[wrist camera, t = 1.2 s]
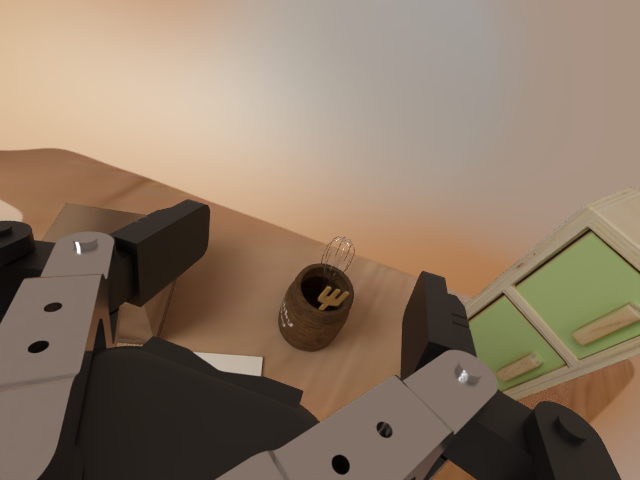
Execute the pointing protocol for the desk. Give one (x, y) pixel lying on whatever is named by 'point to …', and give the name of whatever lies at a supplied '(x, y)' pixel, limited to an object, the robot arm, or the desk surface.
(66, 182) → the desk surface
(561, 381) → the toy refrigerator
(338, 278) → the utensil holder
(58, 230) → the walnut base block
